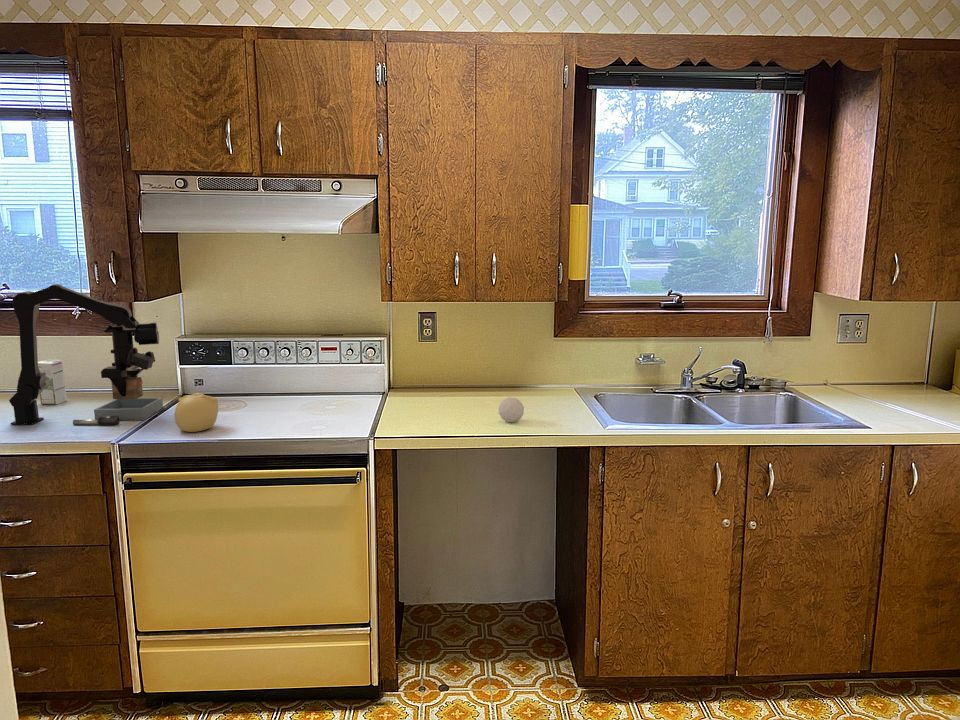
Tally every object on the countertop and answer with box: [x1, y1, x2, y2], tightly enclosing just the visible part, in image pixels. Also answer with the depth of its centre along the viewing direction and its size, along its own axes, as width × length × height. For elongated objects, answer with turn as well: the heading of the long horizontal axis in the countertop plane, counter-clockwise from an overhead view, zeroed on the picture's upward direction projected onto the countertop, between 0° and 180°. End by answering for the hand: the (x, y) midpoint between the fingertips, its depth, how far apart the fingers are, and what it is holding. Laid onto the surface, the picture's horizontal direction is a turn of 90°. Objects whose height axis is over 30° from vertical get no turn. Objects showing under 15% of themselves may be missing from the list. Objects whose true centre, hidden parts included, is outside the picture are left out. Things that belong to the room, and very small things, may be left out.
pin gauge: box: [72, 416, 120, 426], centre depth 212 cm, size 13×3×3 cm, turn 90°
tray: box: [93, 397, 164, 421], centre depth 223 cm, size 15×15×4 cm
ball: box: [498, 396, 525, 424], centre depth 214 cm, size 8×8×8 cm
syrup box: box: [38, 359, 68, 405], centre depth 237 cm, size 6×6×14 cm
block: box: [111, 376, 144, 400], centre depth 222 cm, size 5×7×6 cm
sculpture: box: [174, 392, 219, 433], centre depth 206 cm, size 12×12×11 cm
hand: (127, 394), depth 222 cm, fingers closed on block, 5 cm apart
